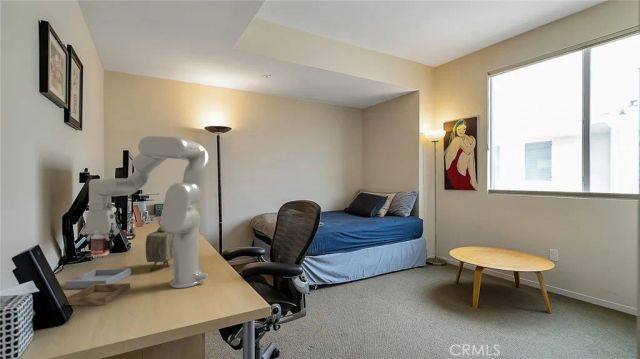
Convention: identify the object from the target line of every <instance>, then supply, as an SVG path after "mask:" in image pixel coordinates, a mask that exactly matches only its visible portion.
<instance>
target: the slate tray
mask: <svg viewBox="0 0 640 359" xmlns="http://www.w3.org/2000/svg"><path fill="white" fill-rule="evenodd" d="M130 276H132V269H131V268H100V269H99V268H97V269H96V268H95V269H93V270H90V271H89V272H86V273H84V274H81V275H79V276H76V277H73V278H72V279H68V280H67V281H65V289H66V290H69V289H70V290H73V289H75V290H77V289H78V290H79V289H80V290H81V289H82V290H84V289H86V288H88V287H90V286H92V285H94V284H118V283H119V282H120V281H123V280H124V279H126V278H127V277H130Z"/></svg>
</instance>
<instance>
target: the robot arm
mask: <svg viewBox="0 0 640 359" xmlns="http://www.w3.org/2000/svg"><path fill="white" fill-rule="evenodd" d="M137 150H138V152H139V153H138V154H137V155H136V156H134V157H133V159H132V160H131V164H132V166H133V168H134V169H135V170H134V172H133V173H132V174H130V175H129V176H128V177H127V178H105V179H104V178H94V179H90V181H89V182H88V203H89V204H88V211H87V213H86V217H85V227H84V228H83V229H82V230H80V234H81V235H83V237H84V239H86V241H87V249H88V251H91V237H92V236H93V235H94V231H98V232H99V234H104V235H105V237H106V240H107V241H105V250H109V251H110V250H111V249H112V248H113V240H115V237H116V236H117V235H118V234H119V233H120V232H121V230H120V229H118V228H117V225H116V224H117V223H116V216H115V212H114V210H113V208H114V207H115V206H114V204H112V197H120V196H130V195H133V194H135V193H137V192H138V191H139V190H140V189H141V188H142V187H144V186H145V185H146V184H147V182H148V180H149V179H150V176H151V173H152V172H153V171H154V170H155V169H157V168H158V167H160V165H161V164H163V162H165V161H166V160H167V159H176V160H181V161H182V160H184V161H188V164H187V165H186V167H185V169H184V171H183V172H184V173H183V177H182V181H181V182H176V183H173V184H172V185H170V186H169V188H168V189H167V191H166V193H165V198H164V201H163V206H162V211H161V216H160V218H161V220H160V224H161V226H160V227H162V229H163V230H164V231H165V232H166V233H168V234H175V236H174V258H173V279H171V280H170V281H169V287H172V288H175V289H184V288H190V287H194V286H197V285H198V284H199V285H200V284H201V283H202V282H203V280H208V279H209V274H208V272H202V269H200V268H199V267H200V263H199V259H200V257H199V252H200V251H199V249H200V248H199V245H200V244H199V243H200V242H199V238H200V226H201V215H200V212H199V211H198V210H197V209H195V208H194V207H190V206H193V205H196V204H198V203H199V202H200V201H201V200H202V198H203V193H204V188H205V183H206V177H207V173H208V168H209V163H210V156H209V155H210V154H209V153H208V151H207V150H206V148H205V147H204V146H203V145H202V144H200V143H198V142H196V141H194V140H191V139H185V138H182V137H179V136H178V137H177V136H163V135H160V136H159V135H147V136H144V137H142V138H141V139H140V140H139V141H138V144H137Z"/></svg>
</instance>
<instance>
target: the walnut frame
mask: <svg viewBox="0 0 640 359" xmlns="http://www.w3.org/2000/svg"><path fill="white" fill-rule="evenodd" d="M130 290H131V283H130V282H128V283H115V284H94V285H92V286H90V287H88V288H86V289H82V290H79V291H78V292H76V293H74V294H71V295H70V296H67V297H66V298H67V299H68V301H69V303H70V304H71V305H72V306H71V307H74V306H73V305H75V307H76V306H77V305H80V306H82V307H83V306H105V305H107V304H109V303H110V302H112V301H114V300H115V299H117V298H119V297H120V296H122V295H124V294H125V293H127V292H129V291H130ZM95 292H111V293H109V294H107V295H105V296H90V294H94V293H95ZM77 307H78V306H77Z"/></svg>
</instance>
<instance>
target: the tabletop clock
mask: <svg viewBox="0 0 640 359" xmlns="http://www.w3.org/2000/svg"><path fill="white" fill-rule="evenodd" d="M157 224H158V225H159V227H158V228H157V230H155V231H152V232H150V233H149V234H147V235H146V239H145V249H144V250H145V259H146V262H147V263H153V265H152V266H151V267H150V268H149V270H150V271H153V270H154V269H155V266H156V264H158V263H163V264H164V265H165V267H166V268H170V266H171V265H170V263H168V261H171V260H174V236H175V234H168V233H166V232H165V231H164V230H163V229H162V227H161V217H160V218H159V219H158V223H157Z"/></svg>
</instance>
